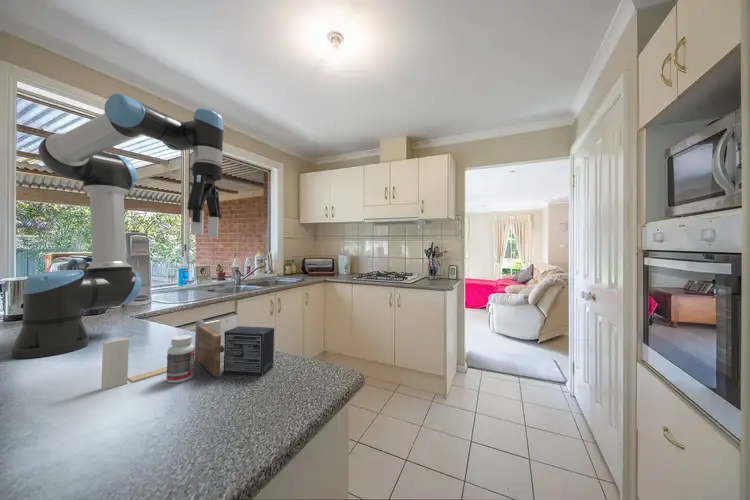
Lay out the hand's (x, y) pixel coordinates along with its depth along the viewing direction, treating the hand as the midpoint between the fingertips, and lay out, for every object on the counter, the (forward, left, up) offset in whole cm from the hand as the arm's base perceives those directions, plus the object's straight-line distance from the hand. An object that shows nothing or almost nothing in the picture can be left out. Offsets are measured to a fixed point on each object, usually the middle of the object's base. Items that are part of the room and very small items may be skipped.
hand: (205, 236), depth 82 cm
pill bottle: (+12, -11, -35) cm, 39 cm away
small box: (+21, +1, -35) cm, 41 cm away
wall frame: (+4, -10, -35) cm, 36 cm away
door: (+12, -4, -34) cm, 37 cm away
